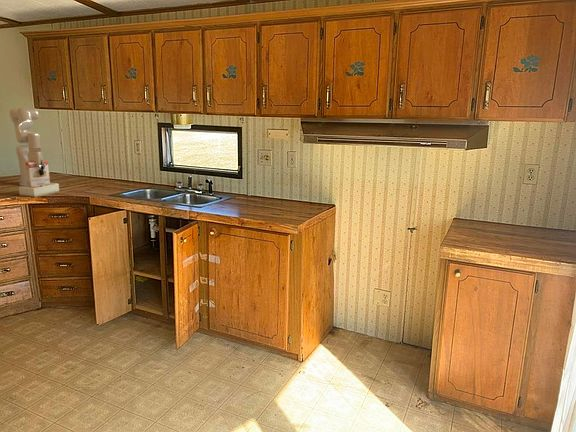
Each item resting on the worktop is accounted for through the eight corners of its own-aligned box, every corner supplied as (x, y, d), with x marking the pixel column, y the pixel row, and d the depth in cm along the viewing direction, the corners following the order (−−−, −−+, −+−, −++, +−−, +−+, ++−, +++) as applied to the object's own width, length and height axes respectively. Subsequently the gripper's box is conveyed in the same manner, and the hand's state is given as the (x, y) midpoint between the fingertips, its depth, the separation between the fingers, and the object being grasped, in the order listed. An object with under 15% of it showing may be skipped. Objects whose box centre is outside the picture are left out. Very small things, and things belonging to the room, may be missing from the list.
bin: (19, 195, 312) (18, 186, 310) (45, 189, 332) (44, 182, 331) (34, 196, 308) (33, 188, 306) (59, 191, 328) (58, 183, 326)
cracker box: (31, 191, 312) (28, 162, 307) (27, 190, 315) (24, 161, 310) (51, 188, 323) (48, 160, 318) (46, 187, 327) (43, 160, 321)
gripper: (21, 149, 311) (24, 174, 316) (39, 151, 306) (42, 176, 310) (30, 149, 318) (33, 172, 323) (48, 150, 313) (51, 174, 317)
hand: (37, 174), depth 316 cm, fingers closed on cracker box, 7 cm apart
